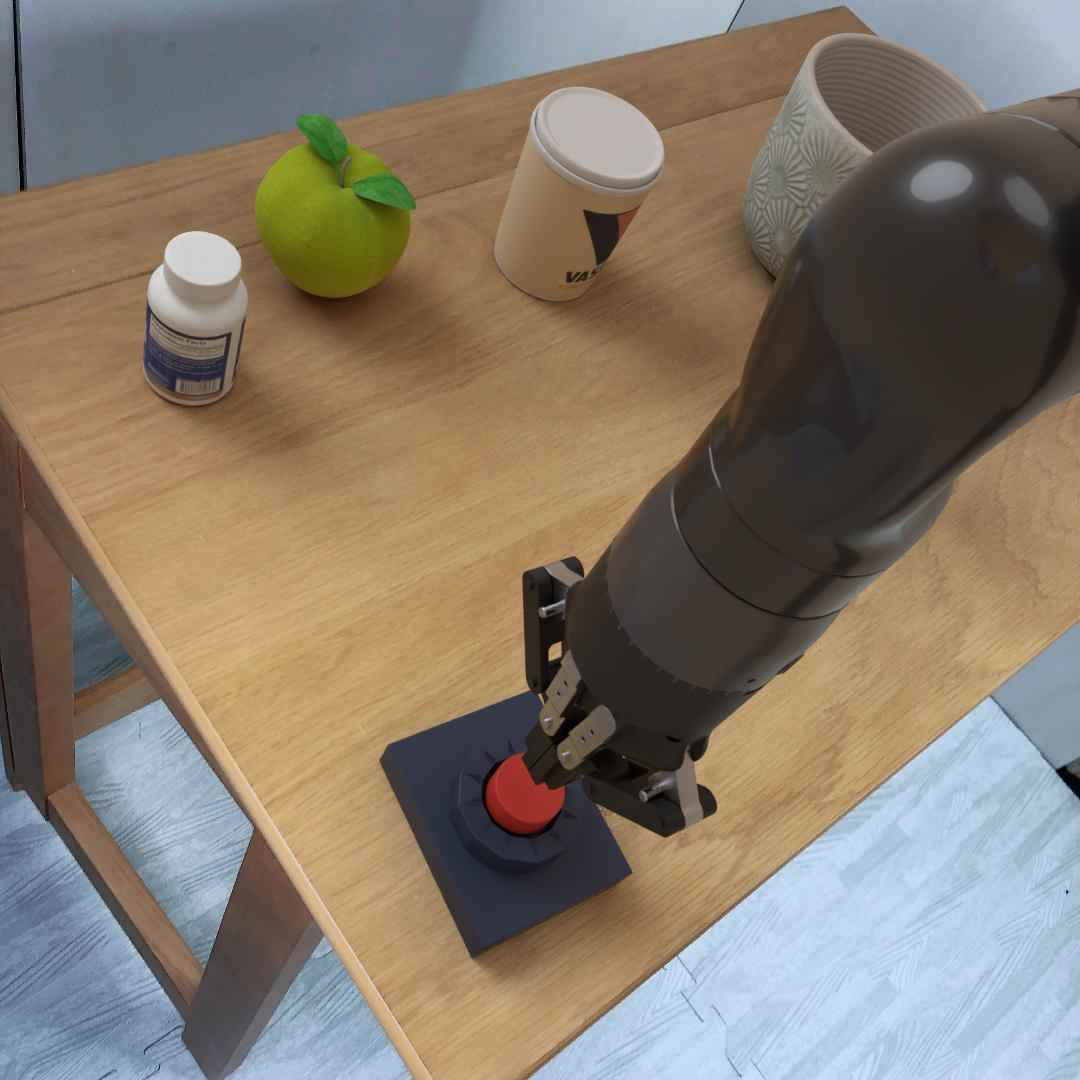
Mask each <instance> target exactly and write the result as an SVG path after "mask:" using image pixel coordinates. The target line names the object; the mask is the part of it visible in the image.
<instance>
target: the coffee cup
mask: <svg viewBox="0 0 1080 1080" xmlns="http://www.w3.org/2000/svg"><path fill="white" fill-rule="evenodd" d="M664 170H665V146H664V142H663V139H662V137H661V135H660V133H659V131H658V129H657V128H656V127H655V126H654V123H652V122H651V120H649V118H648V117H647V116H646V115H645V114H644V113H642V112H641V111H640V110H639V109H638V108H636V107H635V106H633V104H630V103H629V102H628V101H626V100H624V99H622V98H620V97H619V96H617V95H614V94H612V93H609V92H607V91H604V90H601V89H597V88H592V87H586V86H567V87H563V88H559V89H557V90H554V91H552V92H551V93H549V94H548V95H547V96H546V97H545V98H543V99H542V100H541V101H539V102H538V103H537V105H536V106H535V108H534V110H533V111H532V114H531V118H530V120H529V130H528V133H527V134H526V139H525V142H524V144H523V148H522V150H521V154H520V158H519V161H518V164H517V167H516V170H515V173H514V177H513V180H512V183H511V187H510V190H509V193H508V195H507V196H508V197H507V199H506V202H505V206H504V209H503V213H502V216H501V219H500V221H499V222H500V223H499V226H498V229H497V234H496V237H495V239H494V240H495V241H494V246H493V253H494V259H495V262H496V265H497V267H498V269H499V271H501V273H502V275H503V276H504V277H505V278H506V279H507V280H508V281H509V282H510V283H511V284H513V285H514V286H515V287H516V288H517V289H519V290H521V291H522V292H524V293H526V294H528V295H530V296H532V297H535V298H537V299H540V300H545V301H549V302H568V301H572V300H575V299H577V298H579V297H581V296H582V295H583V294H585V293H586V292H587V290H589V288H590V287H591V286H592V284H593V282H594V281H595V279H597V277H598V275H599V274H600V272H601V270H602V269H603V267H604V266H605V264H606V263H607V261H608V259H609V258H610V256H611V254H612V253H613V251H614V249H615V248H616V247H617V245H618V244H619V242H620V241H621V239H622V237H623V236H624V234H625V233H626V231H627V229H628V228H629V226H630V225H631V223H632V221H633V220H634V218H635V217H636V215H637V213H638V212H639V210H640V208H641V207H642V205H643V204H644V202H645V200H646V198H647V196H648V195H649V193H650V192H651V190H652V189H654V187H655V186H656V185H657V183H658V182H659V180H660V179H661V178H662V175H663V172H664Z"/></svg>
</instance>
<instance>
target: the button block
mask: <svg viewBox="0 0 1080 1080" xmlns="http://www.w3.org/2000/svg"><path fill="white" fill-rule="evenodd" d="M543 707H544V702H543V700H542V699H541V697H540V694H538V695H536V694H534V693H533V692H532V691H531V690H530V689H529V690H527V691H524V692H522V693H519V694H516V695H513V696H511V697H509V698H505V699H503V700H500V701H498V702H495V703H492V704H490V705H488V706H485V707H481V708H480V709H477V710H474V711H472V712H469V713H467V714H464V715H461V716H459V717H456V718H453V719H450V720H448V721H445V722H443V723H440V724H438V725H435V726H433V727H430V728H427V729H425V730H422V731H419V732H417V733H414V734H411V735H409V736H406V737H404V738H402V739H399V740H398V739H397V740H396V741H393V742H391V743H388V745H387V746H386V748H385V749H384V750H383V753H382V754H381V756H380V758H379V760H378V762H379V763H380V765H381V768H382V770H383V772H384V774H385V776H386V778H387V780H388V783H389V785H390V787H391V789H392V791H393V793H394V795H395V797H396V800H397V802H398V804H399V806H400V809H401V810H402V813H403V815H404V817H405V819H406V821H407V824H408V825H409V828H410V830H411V831H412V834H413V836H414V838H415V840H416V843H417V845H418V847H419V849H420V851H421V853H422V855H423V857H424V859H425V862H426V864H427V866H428V868H429V870H430V872H431V874H432V877H433V879H434V881H435V883H436V885H437V888H438V889H439V892H440V894H441V896H442V898H443V900H444V902H445V904H446V907H447V909H448V911H449V914H450V915H451V917H452V920H453V922H454V924H455V926H456V928H457V930H458V932H459V935H460V937H461V938H462V940H463V943H464V945H465V947H466V950H467V952H468V954H469V956H470V958H471V959H474V958H476V957H477V956H480V955H481V954H484V953H486V952H487V951H490V950H491V949H493V948H495V947H497V946H499V945H501V944H503V943H505V942H507V941H509V940H511V939H514V938H515V937H517V936H519V935H521V934H523V933H525V932H527V931H529V930H531V929H533V928H535V927H537V926H539V925H541V924H543V923H544V922H546V921H549V920H550V919H553V918H554V917H557V916H558V915H560V914H563V913H564V912H566V911H568V910H570V909H572V908H574V907H577V906H578V905H581V904H582V903H584V902H586V901H588V900H589V899H592V898H594V897H596V896H598V895H600V894H601V893H604V892H605V891H608V890H610V889H611V888H613V887H615V886H617V885H619V884H620V883H621V882H623V881H624V880H625V879H627V878H628V877H629V876H630V875H632V874H633V870H632V868H631V866H630V864H629V862H628V860H627V859H626V857H625V855H624V853H623V851H622V849H621V847H620V846H619V843H618V842H617V840H616V837H615V836H614V835H613V833H612V831H611V828H610V827H609V825H608V823H607V821H606V819H605V817H604V815H603V813H602V812H601V810H600V807H599V805H598V804H596V803H594V802H592V801H590V800H589V799H588V798H587V796H586V795H585V793H584V791H583V788H582V783H581V780H582V777H583V776H582V777H581V778H580V779H578V780H576V781H574V782H571V783H569V784H567V785H565V786H564V787H565V798H564V802H563V805H562V807H561V809H560V811H559V812H558V813H557V814H556V815H555V816H554V817H553V818H552V819H551V820H550V821H549V822H548V823H547V824H546V825H545V826H544V827H543V828H542V829H540V830H539V831H537V832H534V833H530V834H517V833H513V832H510V831H508V830H506V829H504V828H503V827H501V826H500V825H499V824H498V823H497V822H496V821H495V820H494V819H493V817H492V816H491V814H490V812H489V810H488V807H487V803H486V788H487V785H488V782H489V780H490V779H491V777H492V776H493V775H494V773H495V772H496V771H497V770H498V768H499V767H500V766H501V765H502V763H503V762H504V761H505V760H507V759H508V758H509V757H511V756H513V755H516V754H520V753H526V751H527V750H528V749H527V747H526V745H525V740H526V735H527V734H528V733H529V732H530V731H531V730H532V728H534V726H535V725H536V724H537V722H538V721H539V720H540V718H539V715H540V712H541V710H542V708H543Z"/></svg>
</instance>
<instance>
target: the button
mask: <svg viewBox="0 0 1080 1080" xmlns="http://www.w3.org/2000/svg"><path fill="white" fill-rule="evenodd" d="M524 754H525V753H520V754H516V755H513V756H511V757H509V758H508V759H507V760H505V761H504V762H503V763H502V765H501V766H500V767H499V768H498V770H497V771H496V772H495V773H494V775H493V776H492V777H491V779H490V780H489V782H488V785H487V788H486V803H487V807H488V810H489V812H490V814H491V816H492V817H493V819H494V820H495V821H496V822H497V823H498V824H499V825H500V826H501V827H503V828H504V829H506V830H508V831H510V832H513V833H517V834H530V833H534V832H537V831H539V830H540V829H542V828H543V827H544V826H545V825H546V824H547V823H548V822H549V821H550V820H551V819H552V818H553V817H554V816H555V815H556V814H557V813H558V812H559V811H560V809H561V807H562V805H563V802H564V798H565V787H564V786H562V787H560V788H558V789H556V790H549V789H548V787H547V785H546V783H545V782H544V783H542V784H540V785H535V784H534V782H533V780H532V778H531V776H530V774H529V771H528V770H527V768H526V766H525V764H524V762H523V760H522V758H521V757H522V756H523V755H524Z"/></svg>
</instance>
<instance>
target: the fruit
mask: <svg viewBox="0 0 1080 1080" xmlns="http://www.w3.org/2000/svg"><path fill="white" fill-rule="evenodd" d="M296 126H297V127H298V128H299V130H300V131H301V132H302V134H303V135H304V137H305V138H306V139H307V140H308V142H304V143H301V144H298V145H296V146H295V147H293V148H290V149H289V150H288V151H287V152H285V154H283V155H282V156H281V157H280V158H279V159H277V161H276V162H275V163H274V164H273V165H272V166H271V167H270V168H269V170H268V171H267V172H266V174H265V175H264V177H263V179H262V181H261V183H260V184H259V187H258V189H257V192H256V195H255V201H254V220H255V225H256V230H257V233H258V235H259V238H260V241H261V243H262V245H263V247H264V249H265V251H266V253H267V255H268V256H269V257H270V259H271V260H272V262H273V263H274V265H275V266H276V268H278V270H279V271H280V272H281V273H282V274H283V276H285V277H286V278H287V279H288V280H289V281H290V282H291V283H292V284H293V285H295V286H296V287H297V288H299V289H300V290H302V291H304V292H305V293H308V294H311V295H314V296H318V297H323V298H330V299H340V298H346V297H351V296H354V295H358V294H360V293H362V292H365V291H367V290H369V289H371V288H372V287H374V286H376V285H377V284H378V283H380V282H381V281H383V280H384V279H385V278H386V277H387V276H389V274H390V273H391V272H392V271H393V270H394V268H395V267H396V266H397V264H398V263H399V261H400V260H401V259H402V257H403V255H404V253H405V250H406V248H407V245H408V242H409V239H410V235H411V211H414V210H416V209H417V202H416V200H415V199H414V197H413V194H412V193H411V192H410V190H409V189H408V188H407V186H406V184H405V183H403V181H401V180H400V179H399V178H398V177H397V176H395V174H394V172H392V170H391V169H390V168H389V166H388V165H387V164H386V163H385V161H384V160H383V159H382V158H380V157H378V156H376V155H374V154H373V153H370V152H368V151H366V150H364V149H362V148H360V147H359V146H357V145H355V144H353V143H351V142H348V140H347V138H346V136H345V134H344V133H343V131H342V130H341V129H340V127H339V126H338V125H337V124H336V123H335V122H334V120H332V118H330V117H329V116H328V115H327V114H322V113H311V114H309V113H308V114H301V115H300V116H299V117H298V118H297V119H296Z"/></svg>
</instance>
